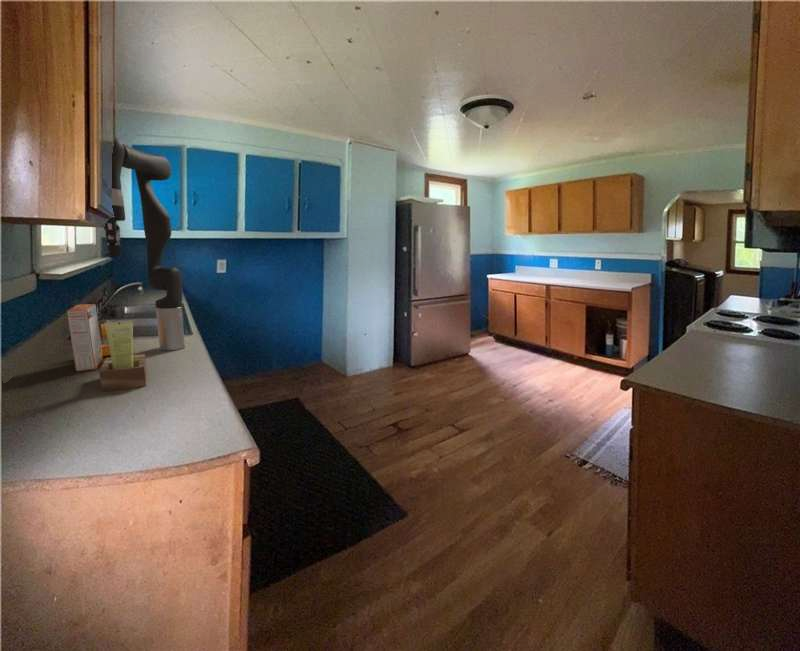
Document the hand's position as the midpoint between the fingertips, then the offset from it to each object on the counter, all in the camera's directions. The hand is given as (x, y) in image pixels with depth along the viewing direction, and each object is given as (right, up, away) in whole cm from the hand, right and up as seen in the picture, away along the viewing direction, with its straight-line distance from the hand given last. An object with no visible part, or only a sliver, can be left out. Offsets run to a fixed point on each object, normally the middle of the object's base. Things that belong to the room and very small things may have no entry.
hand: (115, 257), depth 129 cm
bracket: (-23, -33, +29) cm, 49 cm away
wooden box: (+4, -39, -1) cm, 39 cm away
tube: (+6, -40, -4) cm, 40 cm away
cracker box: (-19, -36, +14) cm, 43 cm away
